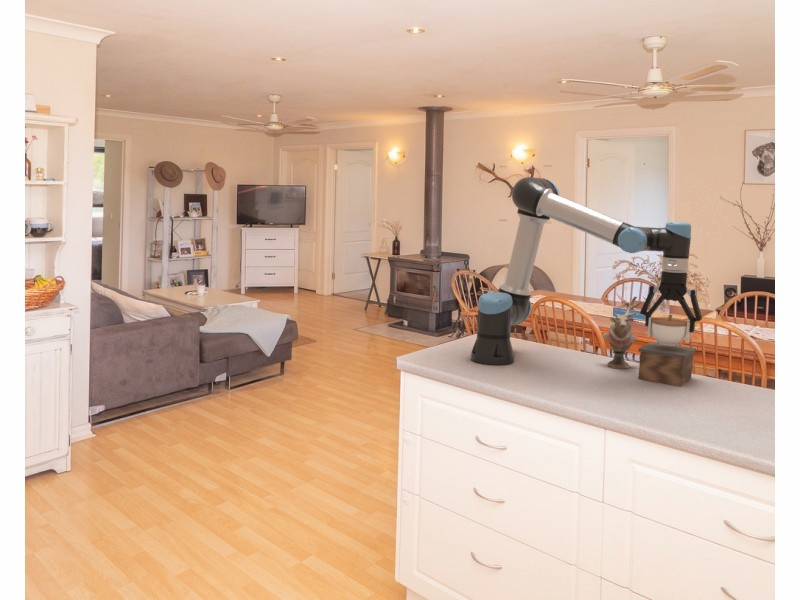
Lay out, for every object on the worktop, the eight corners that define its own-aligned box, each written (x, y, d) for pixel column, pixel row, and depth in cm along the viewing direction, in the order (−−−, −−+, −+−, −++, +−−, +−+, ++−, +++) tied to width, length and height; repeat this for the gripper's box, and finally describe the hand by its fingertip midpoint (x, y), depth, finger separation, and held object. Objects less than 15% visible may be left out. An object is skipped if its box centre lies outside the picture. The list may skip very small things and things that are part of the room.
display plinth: (636, 378, 204) (638, 348, 203) (649, 370, 215) (651, 341, 214) (682, 387, 196) (685, 355, 194) (693, 378, 207) (696, 348, 205)
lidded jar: (654, 338, 211) (656, 310, 210) (688, 343, 205) (691, 314, 204) (646, 344, 202) (648, 315, 201) (681, 349, 196) (685, 319, 195)
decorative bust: (618, 370, 210) (624, 294, 210) (596, 365, 222) (601, 294, 222) (646, 371, 213) (651, 297, 213) (622, 367, 225) (627, 297, 225)
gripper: (633, 268, 204) (627, 335, 208) (712, 275, 190) (704, 346, 194) (640, 267, 210) (634, 332, 214) (717, 273, 196) (710, 343, 200)
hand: (668, 339), depth 204 cm, fingers open, 11 cm apart
